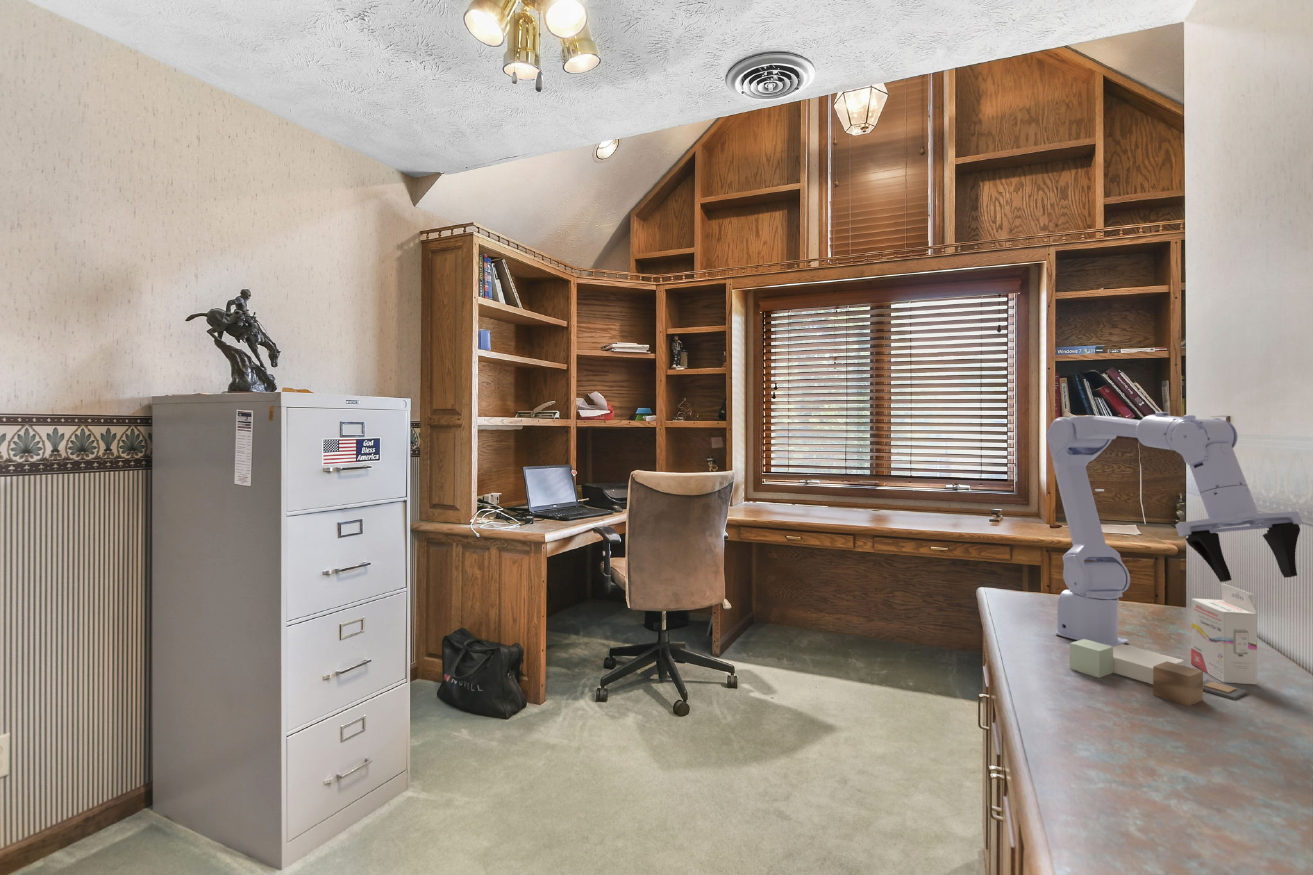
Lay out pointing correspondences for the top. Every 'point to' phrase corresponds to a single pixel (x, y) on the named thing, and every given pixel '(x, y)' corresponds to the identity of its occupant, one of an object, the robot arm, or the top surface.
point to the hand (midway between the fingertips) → (1257, 578)
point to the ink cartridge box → (1226, 636)
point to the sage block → (1091, 658)
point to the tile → (1223, 689)
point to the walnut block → (1178, 683)
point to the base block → (1138, 662)
